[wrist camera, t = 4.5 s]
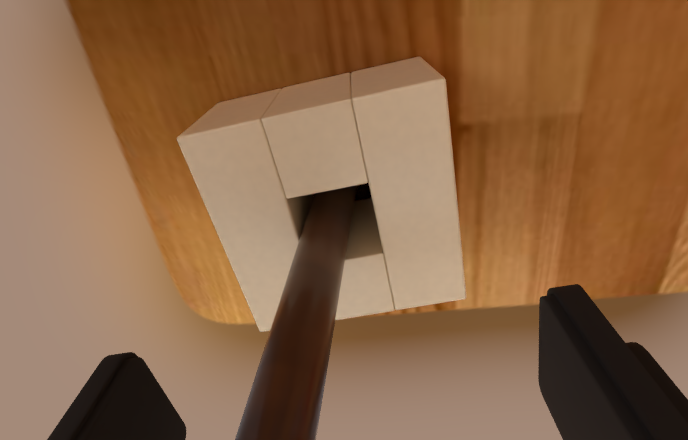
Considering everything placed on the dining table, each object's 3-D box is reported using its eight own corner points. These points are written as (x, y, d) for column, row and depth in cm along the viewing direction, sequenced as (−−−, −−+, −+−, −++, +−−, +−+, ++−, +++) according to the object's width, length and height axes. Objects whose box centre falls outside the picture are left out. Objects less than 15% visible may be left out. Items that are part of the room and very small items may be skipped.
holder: (276, 266, 22) (259, 333, 18) (216, 102, 18) (174, 137, 14) (442, 236, 21) (467, 299, 17) (420, 55, 17) (446, 77, 13)
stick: (325, 195, 20) (215, 598, 8) (316, 163, 19) (174, 566, 7) (361, 190, 20) (302, 605, 8) (353, 157, 19) (271, 572, 7)
